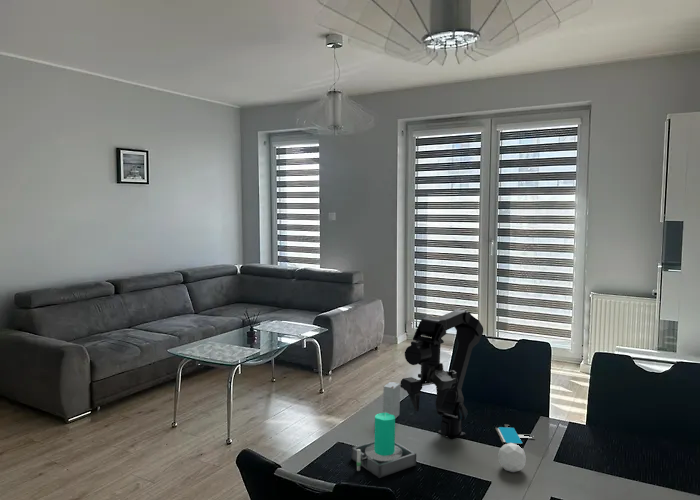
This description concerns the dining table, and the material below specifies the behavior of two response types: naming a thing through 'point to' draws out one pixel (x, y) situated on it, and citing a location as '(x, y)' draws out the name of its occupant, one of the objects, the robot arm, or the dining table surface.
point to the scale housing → (387, 467)
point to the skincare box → (391, 398)
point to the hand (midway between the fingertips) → (428, 408)
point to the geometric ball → (512, 457)
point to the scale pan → (381, 458)
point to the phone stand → (510, 435)
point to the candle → (384, 434)
